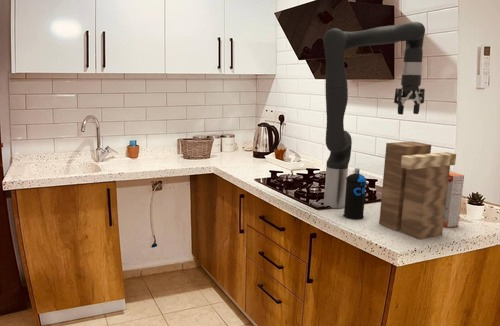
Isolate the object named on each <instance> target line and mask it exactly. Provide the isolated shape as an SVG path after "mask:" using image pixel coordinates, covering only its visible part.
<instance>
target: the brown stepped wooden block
mask: <svg viewBox="0 0 500 326" xmlns="http://www.w3.org/2000/svg"><path fill="white" fill-rule="evenodd" d="M431 152H432V144H429V143H423V142H416V141H398V142H386V146H385V154H384V155H385V156H384V166H383V176H382V177H383V179H382V189H381V198H380V199H381V200H380V209H379V210H380V211H379V220H378V221H379V222H378V224H379V225H380V226H383V227H386V228H387V229H390V230H393V231H395V232H400V233H402V234H405V235H407V236H410V237H411V238H412V237H413V238H415V239H417V240H423V239H427V238H434V237H438V236H443V230H444V226H443V223H444V214H445V206H446V197H447V189H448V180H449V172H450V171H451V170H450V169H451V165H450V166H440V167H429V168H419V169H406V168H402V167H401V160H402V156H406V155H419V154H432V153H431Z"/></svg>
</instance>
